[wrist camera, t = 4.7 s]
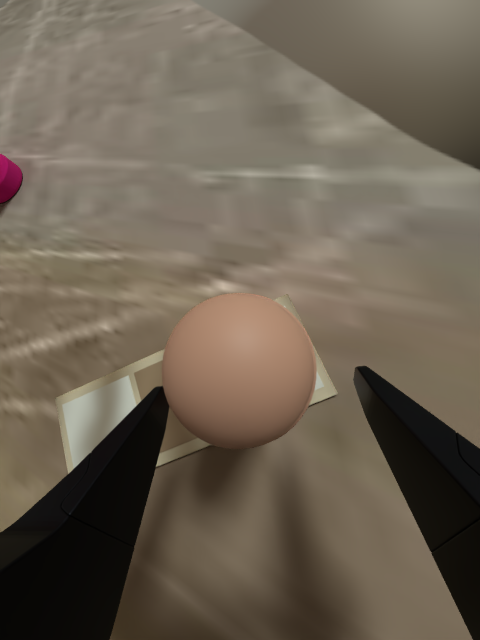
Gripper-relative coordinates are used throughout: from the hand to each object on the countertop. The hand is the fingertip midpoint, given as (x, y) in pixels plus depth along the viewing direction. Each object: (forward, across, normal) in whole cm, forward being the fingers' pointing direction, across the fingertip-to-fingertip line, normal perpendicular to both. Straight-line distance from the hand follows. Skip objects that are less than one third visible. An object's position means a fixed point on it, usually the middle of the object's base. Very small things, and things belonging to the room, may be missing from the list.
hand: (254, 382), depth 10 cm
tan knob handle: (+6, 0, +5) cm, 8 cm away
